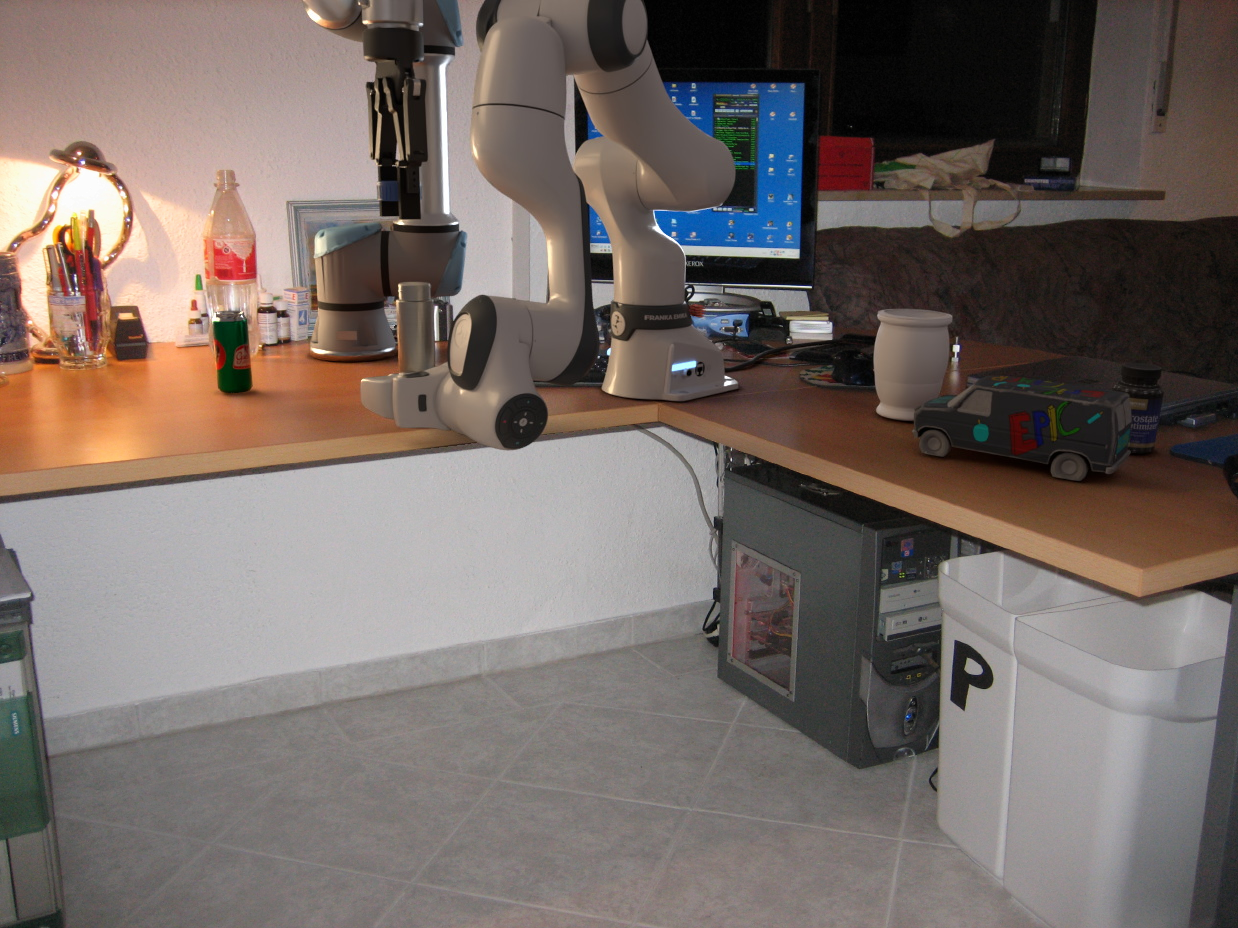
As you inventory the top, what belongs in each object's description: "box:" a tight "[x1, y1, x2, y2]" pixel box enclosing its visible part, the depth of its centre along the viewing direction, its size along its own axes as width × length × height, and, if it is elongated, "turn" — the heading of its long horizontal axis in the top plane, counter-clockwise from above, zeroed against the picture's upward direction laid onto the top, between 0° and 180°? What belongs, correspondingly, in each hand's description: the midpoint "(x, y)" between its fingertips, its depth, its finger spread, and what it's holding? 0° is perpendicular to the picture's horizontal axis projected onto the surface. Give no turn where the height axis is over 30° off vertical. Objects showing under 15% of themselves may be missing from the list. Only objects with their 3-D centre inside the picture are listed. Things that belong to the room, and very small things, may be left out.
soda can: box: [211, 310, 254, 395], centre depth 162 cm, size 5×5×12 cm
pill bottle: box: [1111, 362, 1165, 455], centre depth 139 cm, size 6×6×11 cm
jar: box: [873, 308, 953, 422], centre depth 154 cm, size 11×10×15 cm
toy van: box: [911, 374, 1133, 482], centre depth 133 cm, size 11×25×10 cm, turn 54°
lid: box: [376, 180, 422, 201], centre depth 140 cm, size 6×6×2 cm
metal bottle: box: [395, 282, 436, 374], centre depth 146 cm, size 5×5×19 cm
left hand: (400, 217), depth 141 cm, fingers closed on lid, 6 cm apart
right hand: (414, 377), depth 147 cm, fingers closed on metal bottle, 5 cm apart
